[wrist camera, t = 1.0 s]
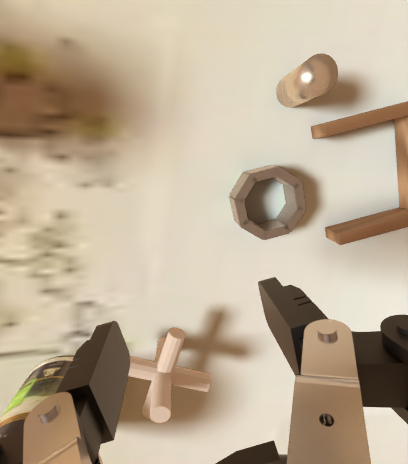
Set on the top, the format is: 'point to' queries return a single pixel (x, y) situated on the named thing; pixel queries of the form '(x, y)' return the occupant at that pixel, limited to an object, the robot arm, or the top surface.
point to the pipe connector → (166, 376)
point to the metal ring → (287, 215)
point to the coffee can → (34, 392)
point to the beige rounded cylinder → (308, 81)
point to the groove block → (404, 216)
